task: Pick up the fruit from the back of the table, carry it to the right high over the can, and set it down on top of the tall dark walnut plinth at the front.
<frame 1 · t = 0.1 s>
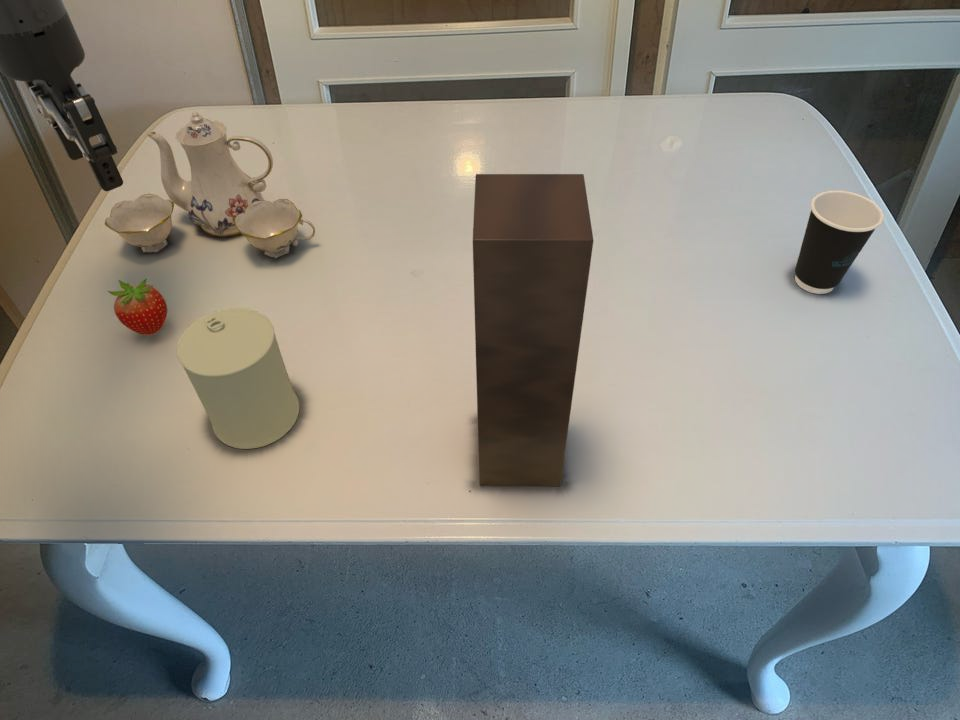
hand: (96, 171, 74), 18 cm above the table, tool pointing down, fingers open, 8 cm apart
dixie cup: (813, 282, 87), on the table
plinth: (531, 205, 48), on the table
can: (256, 415, 74), on the table
fruit: (154, 334, 82), on the table
chinaware: (224, 232, 96), on the table
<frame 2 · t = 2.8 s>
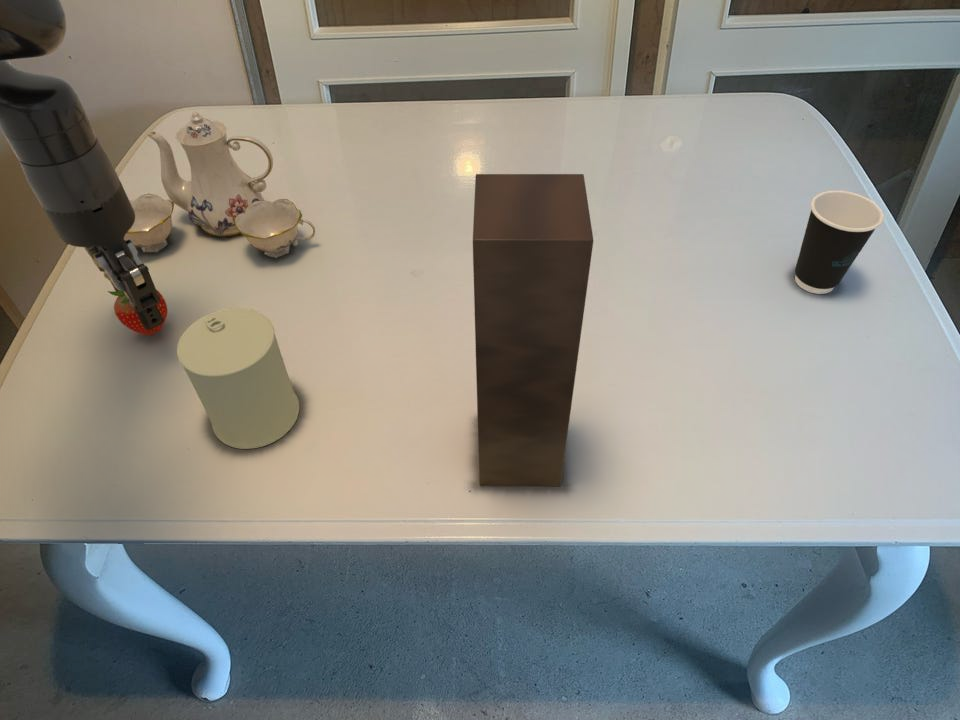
hand: (143, 312, 80), 3 cm above the table, tool pointing down, fingers closed on fruit, 5 cm apart
fruit: (154, 334, 82), on the table, touching gripper
everything else where it was.
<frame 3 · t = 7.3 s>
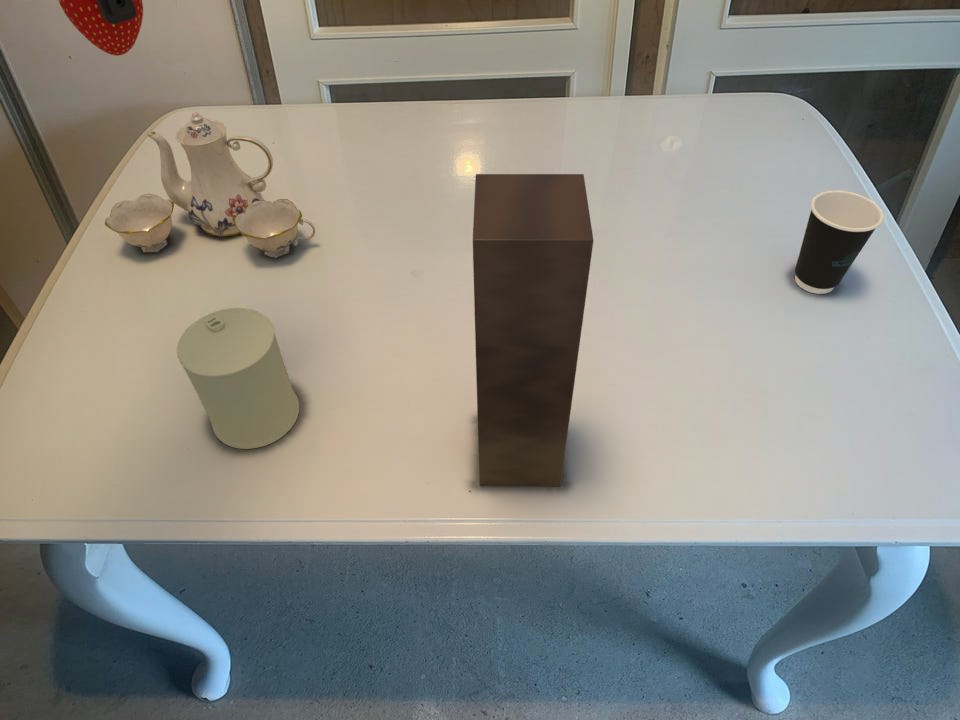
hand: (104, 8, 50), 39 cm above the table, tool pointing down, fingers closed on fruit, 5 cm apart
fruit: (123, 58, 53), point 35 cm above the table, touching gripper
everything else where it was.
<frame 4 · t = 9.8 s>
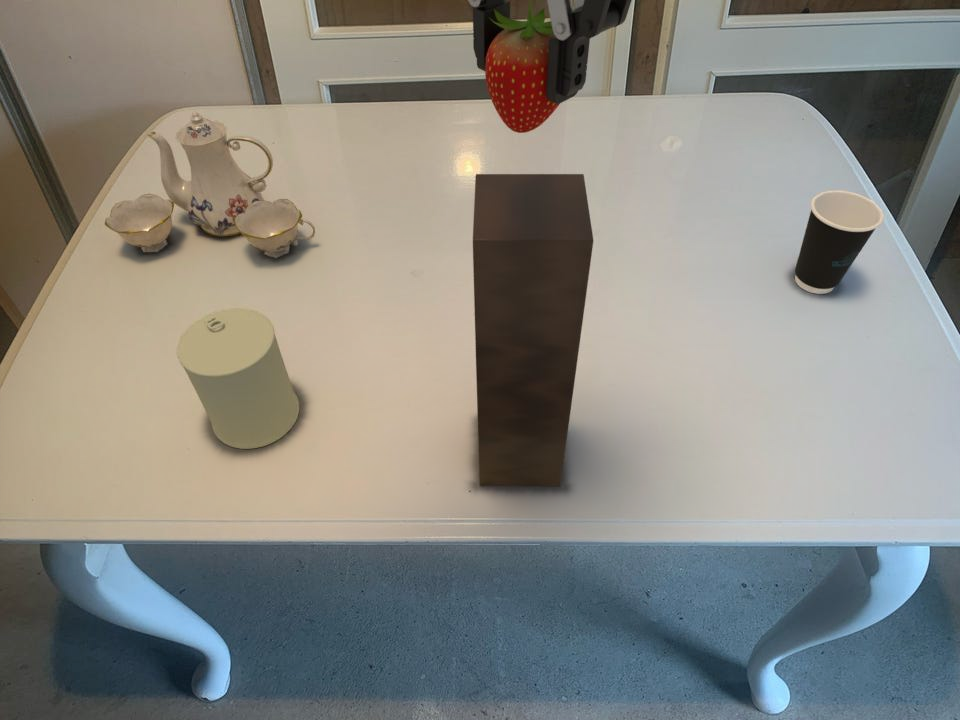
hand: (526, 81, 41), 39 cm above the table, tool pointing down, fingers closed on fruit, 5 cm apart
fruit: (525, 135, 44), point 35 cm above the table, touching gripper
everything else where it was.
when the fingers open (33 cm above the table, at t = 11.8 s): fruit stays where it is, resting on plinth.
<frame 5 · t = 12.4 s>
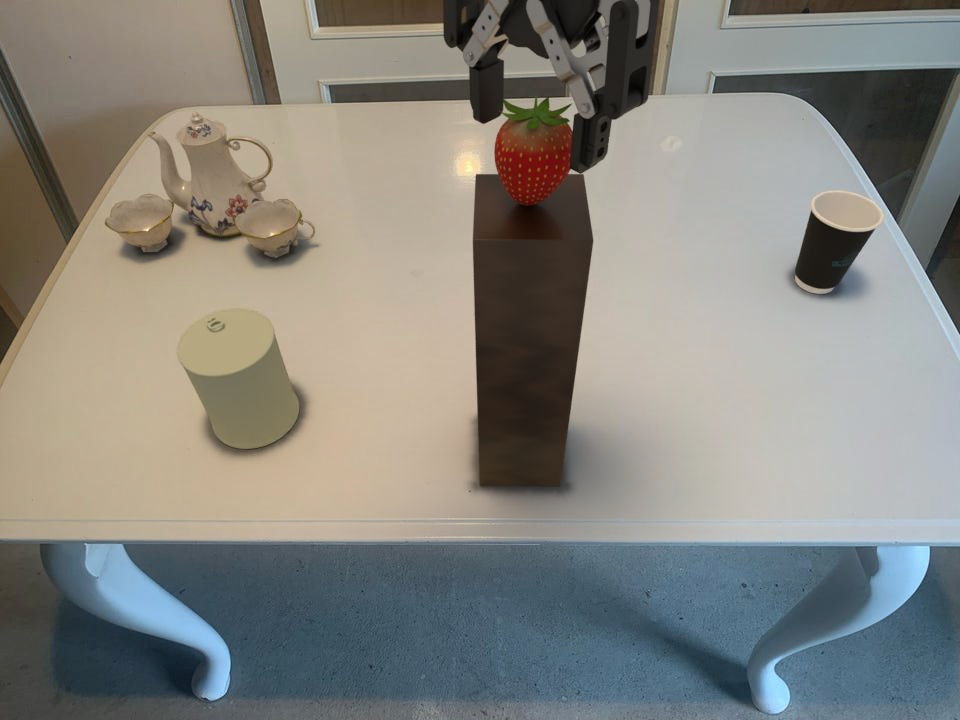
hand: (534, 141, 44), 35 cm above the table, tool pointing down, fingers open, 8 cm apart
fruit: (530, 207, 48), point 30 cm above the table, touching plinth
everything else where it was.
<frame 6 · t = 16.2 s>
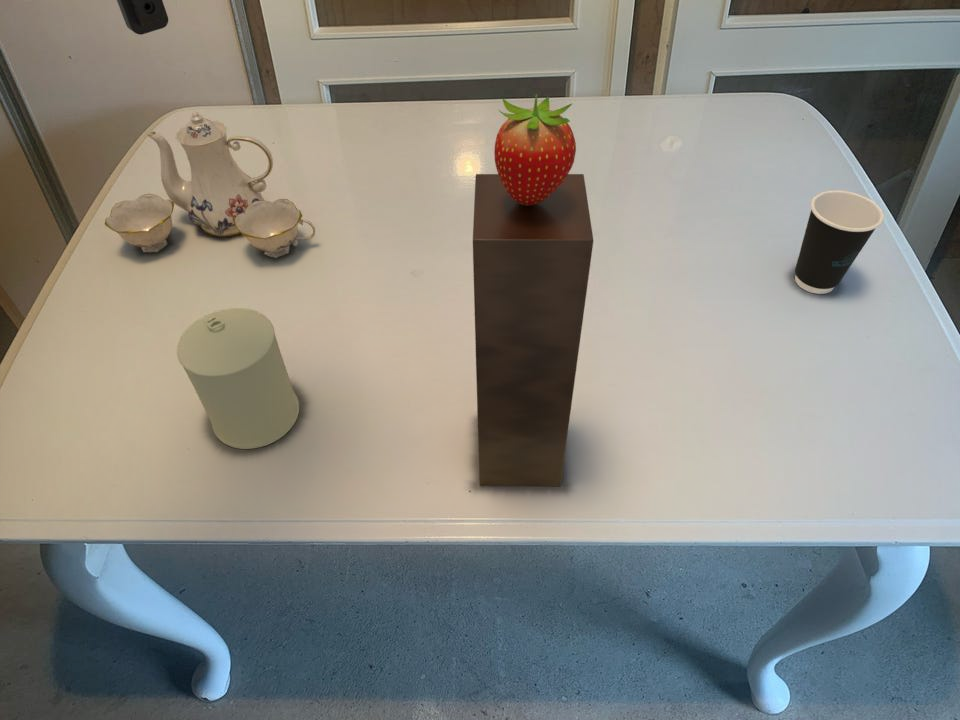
hand: (118, 9, 41), 42 cm above the table, tool pointing down, fingers open, 8 cm apart
nothing on the table moved.
at the end: fruit 0.0 cm off-centre on the plinth, point 0.0 cm above the plinth's base; fruit moved 55.6 cm from its start; the gripper is holding nothing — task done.
